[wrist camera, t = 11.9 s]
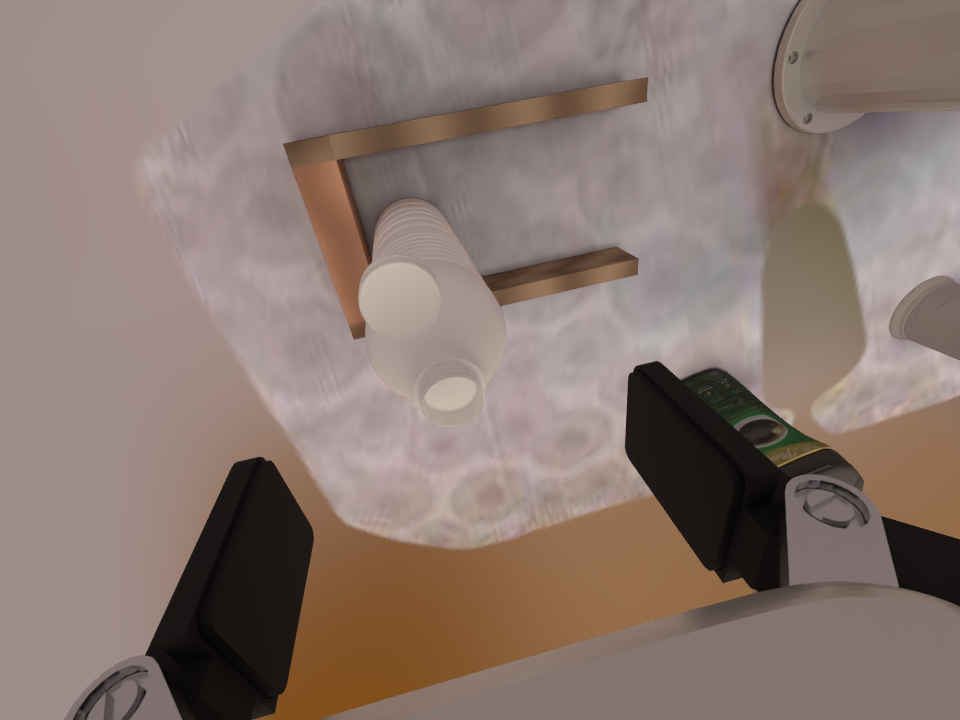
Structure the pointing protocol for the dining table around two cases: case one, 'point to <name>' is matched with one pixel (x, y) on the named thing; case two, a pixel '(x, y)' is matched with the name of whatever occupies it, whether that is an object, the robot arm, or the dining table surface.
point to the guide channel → (323, 156)
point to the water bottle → (429, 315)
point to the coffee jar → (771, 430)
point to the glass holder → (930, 316)
